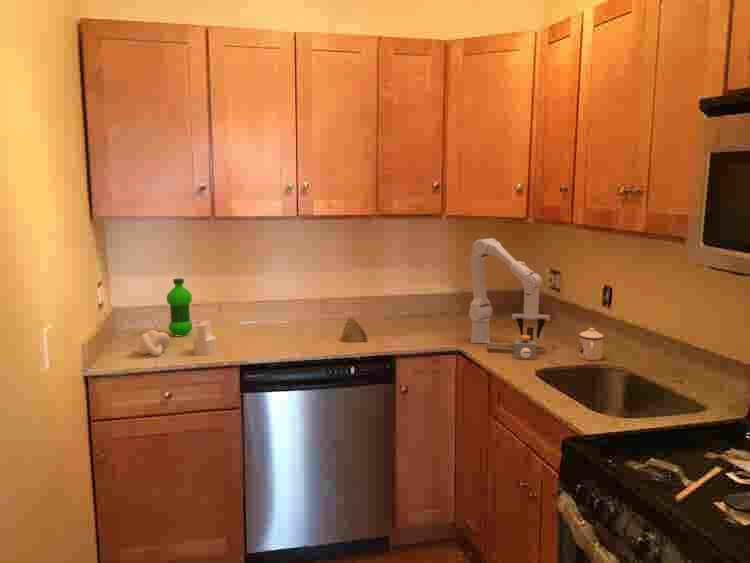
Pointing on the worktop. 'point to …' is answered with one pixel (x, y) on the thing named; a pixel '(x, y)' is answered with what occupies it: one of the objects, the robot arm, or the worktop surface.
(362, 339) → the rock
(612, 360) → the worktop surface
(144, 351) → the beige knot
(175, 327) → the plastic bottle
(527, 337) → the button
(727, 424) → the worktop surface
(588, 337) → the teacup with lid
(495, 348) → the board
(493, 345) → the guide rail
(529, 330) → the carriage
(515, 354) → the gauge box
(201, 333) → the cylinder with rectangular tab
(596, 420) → the worktop surface
